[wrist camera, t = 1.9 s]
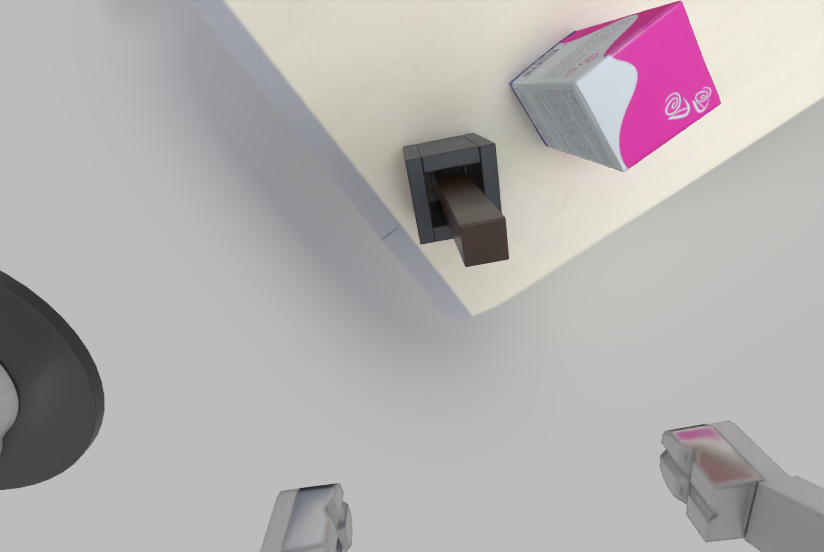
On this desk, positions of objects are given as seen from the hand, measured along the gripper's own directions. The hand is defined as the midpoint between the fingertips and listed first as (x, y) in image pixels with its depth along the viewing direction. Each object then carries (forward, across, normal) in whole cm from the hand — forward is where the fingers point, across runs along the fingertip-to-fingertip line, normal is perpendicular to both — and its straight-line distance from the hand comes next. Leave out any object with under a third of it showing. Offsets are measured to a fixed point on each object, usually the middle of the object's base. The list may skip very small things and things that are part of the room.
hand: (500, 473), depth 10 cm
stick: (+26, -2, -2) cm, 26 cm away
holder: (+26, -2, -2) cm, 26 cm away
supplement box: (+26, -11, -7) cm, 29 cm away
